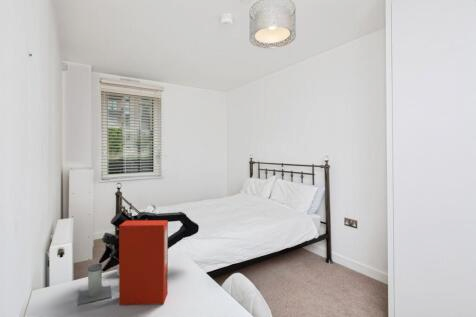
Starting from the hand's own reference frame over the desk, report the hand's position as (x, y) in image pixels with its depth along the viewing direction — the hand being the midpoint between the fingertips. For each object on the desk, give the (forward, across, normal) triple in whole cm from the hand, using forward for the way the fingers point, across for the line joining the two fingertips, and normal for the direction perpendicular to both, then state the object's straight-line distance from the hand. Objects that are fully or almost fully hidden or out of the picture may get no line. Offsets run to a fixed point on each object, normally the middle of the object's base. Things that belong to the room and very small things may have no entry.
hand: (101, 266), depth 110 cm
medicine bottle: (-1, -13, +18) cm, 22 cm away
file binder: (-1, +15, +18) cm, 23 cm away
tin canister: (+10, 0, +6) cm, 11 cm away
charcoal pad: (+10, 0, +7) cm, 12 cm away
